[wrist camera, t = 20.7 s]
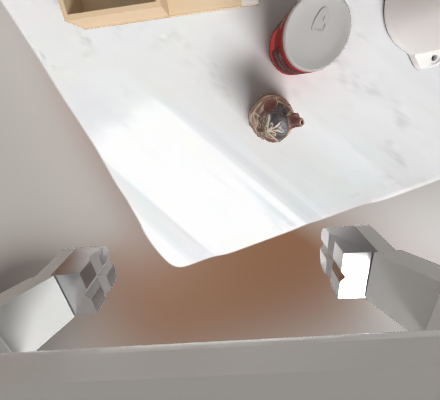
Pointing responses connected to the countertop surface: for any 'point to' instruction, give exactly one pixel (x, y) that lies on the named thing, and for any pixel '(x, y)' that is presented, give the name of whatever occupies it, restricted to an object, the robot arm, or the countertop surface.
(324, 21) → the canned food
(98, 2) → the mailer box
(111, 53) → the countertop surface
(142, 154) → the countertop surface
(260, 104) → the figurine
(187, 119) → the countertop surface
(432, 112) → the countertop surface
